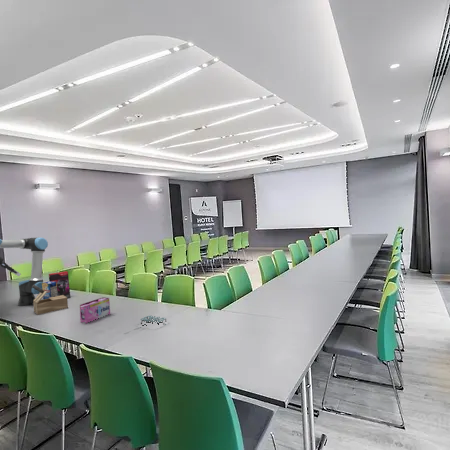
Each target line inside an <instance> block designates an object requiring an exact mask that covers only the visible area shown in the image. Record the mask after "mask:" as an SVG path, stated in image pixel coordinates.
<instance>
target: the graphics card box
mask: <svg viewBox="0 0 450 450" xmlns="http://www.w3.org/2000/svg"><path fill="white" fill-rule="evenodd" d="M48 280H49V281H51V282H57V294H58V296H60V295H64V296H66V297H67V299H71V292H70V289H71V288H70V279H69V272H68V271H67V270H66V271H60V272H59V271H58V272H53V273H48Z"/></svg>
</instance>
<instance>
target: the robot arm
mask: <svg viewBox="0 0 450 450" xmlns="http://www.w3.org/2000/svg"><path fill="white" fill-rule="evenodd" d="M48 243H49V242H48V241H47V239H46V238H44V237H39V236H38V237H28V238H20V239H1V238H0V249H20V250H30V252H31V253H32V257H31V272H30V273H31V274H30V279H26V280H22V281H19V282H18V289H19V290H18V293H19V298H18V302H17V304H18V306H19V307H23V306H31V305H33V302H34V301H33V300H34V299H35V298H36V296H35V295H38V294H39V293H40V292H39V291H37V290H35V289H34V288H32V286H33V285H36V286H37V287H39V288H41V289H42V283H44V278H43V277H42V274H43V271H42V270H43V257H44V256H43V255H44V253H45V252H46V249H48V245H49V244H48ZM4 260H5V259H4V258H3V257H1V256H0V267H2V268H3V269H6V270H8V271H9V272H10V273H11V274H14V275H16V276H17V277H20V276H21V275H22V274H21V273H20V272H19V271H17V270H16V269H14V268H13V267H12V266H10V265H9V264H7V263H6V262H3V261H4ZM42 290H43V289H42Z"/></svg>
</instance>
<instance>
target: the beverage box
mask: <svg viewBox="0 0 450 450" xmlns="http://www.w3.org/2000/svg"><path fill="white" fill-rule="evenodd" d="M42 289H43V290H45V291H47V293H46V294H45V295H44V296H43V297H42V300H43V299H48V298H50V297H55V296H58V294H57V282H51V281H45V282H44V281H43V283H42Z"/></svg>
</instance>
